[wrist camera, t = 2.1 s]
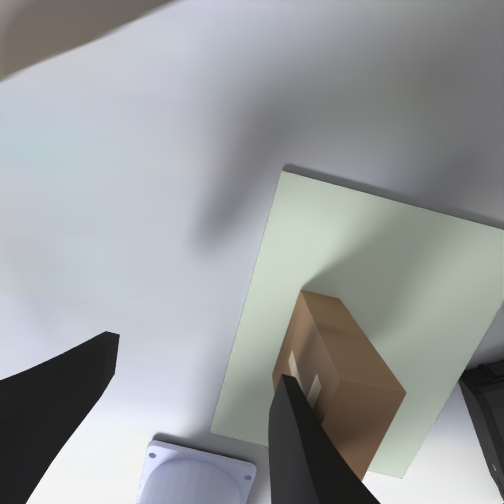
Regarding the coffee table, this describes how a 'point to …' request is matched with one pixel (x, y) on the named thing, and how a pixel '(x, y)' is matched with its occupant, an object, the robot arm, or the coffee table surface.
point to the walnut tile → (340, 377)
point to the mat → (366, 302)
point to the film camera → (487, 414)
